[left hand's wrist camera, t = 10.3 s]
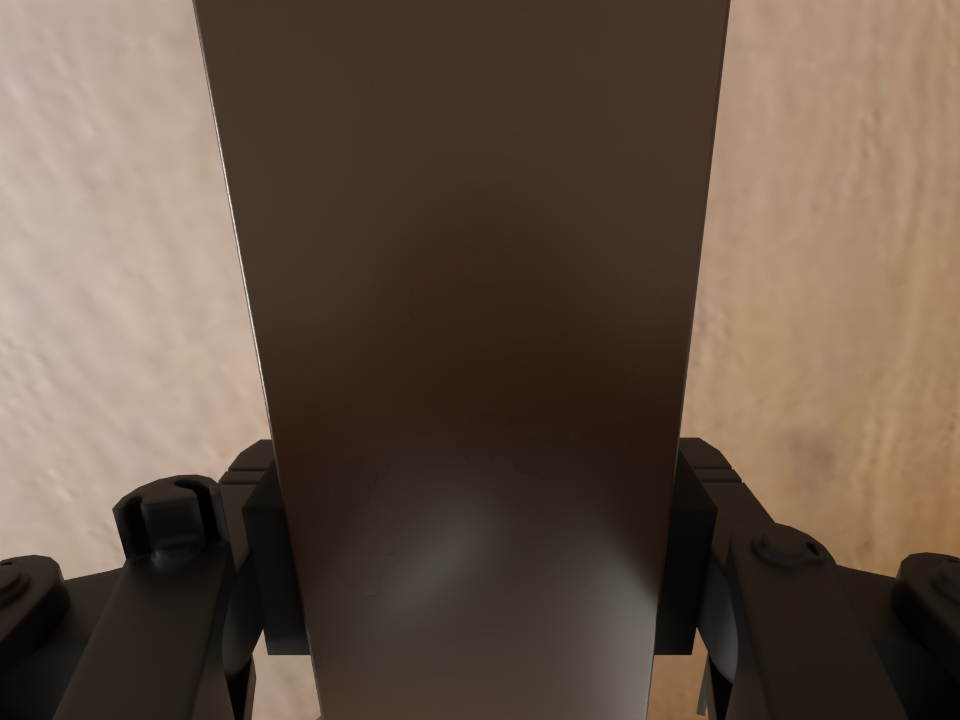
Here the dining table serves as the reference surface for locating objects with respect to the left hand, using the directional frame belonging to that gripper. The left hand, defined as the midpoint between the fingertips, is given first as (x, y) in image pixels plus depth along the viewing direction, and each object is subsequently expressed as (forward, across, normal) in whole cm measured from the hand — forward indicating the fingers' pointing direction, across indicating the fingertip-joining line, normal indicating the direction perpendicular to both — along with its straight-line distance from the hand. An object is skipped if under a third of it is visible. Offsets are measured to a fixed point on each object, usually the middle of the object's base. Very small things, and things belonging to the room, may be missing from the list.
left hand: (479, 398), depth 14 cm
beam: (0, 0, -10) cm, 10 cm away
